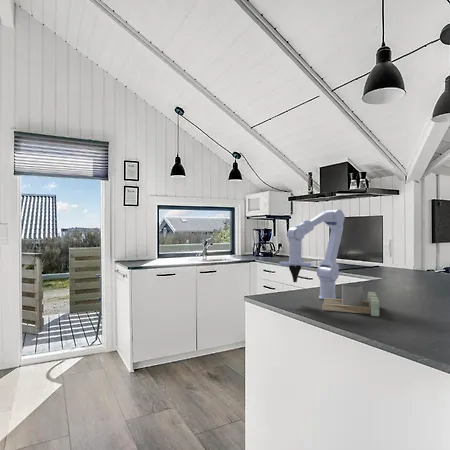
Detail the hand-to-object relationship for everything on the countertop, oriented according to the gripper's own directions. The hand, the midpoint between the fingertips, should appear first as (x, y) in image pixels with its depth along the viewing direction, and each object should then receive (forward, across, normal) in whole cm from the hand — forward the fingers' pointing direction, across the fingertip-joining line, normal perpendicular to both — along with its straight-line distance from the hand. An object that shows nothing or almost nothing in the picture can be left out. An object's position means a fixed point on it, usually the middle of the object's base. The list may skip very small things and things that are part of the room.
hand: (295, 282), depth 165 cm
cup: (+10, +25, -5) cm, 27 cm away
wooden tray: (+9, +23, -5) cm, 25 cm away
